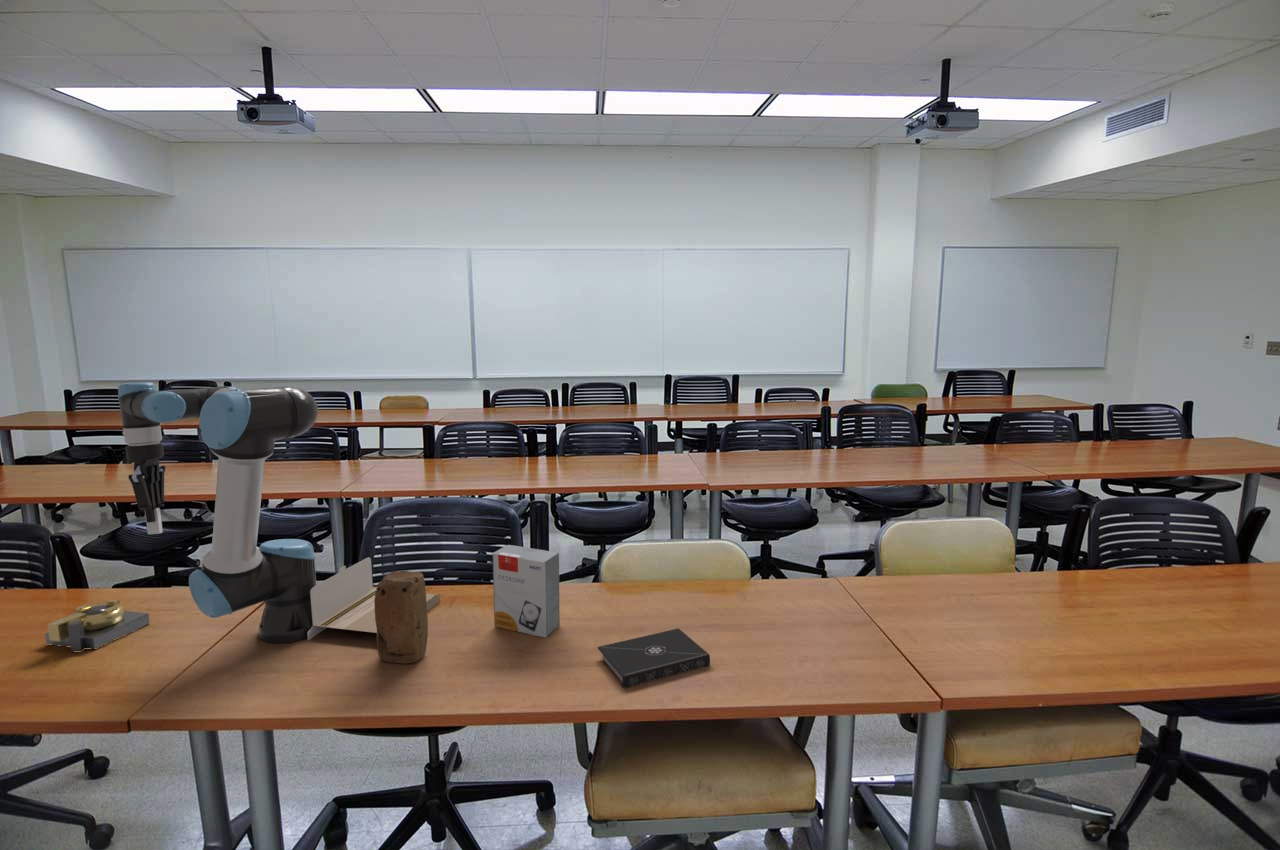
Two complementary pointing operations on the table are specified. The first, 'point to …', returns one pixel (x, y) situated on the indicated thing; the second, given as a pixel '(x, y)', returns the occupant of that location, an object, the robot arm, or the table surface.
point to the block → (401, 617)
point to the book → (654, 657)
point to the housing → (100, 632)
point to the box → (348, 600)
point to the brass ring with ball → (88, 618)
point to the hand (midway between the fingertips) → (155, 533)
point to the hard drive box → (526, 590)
